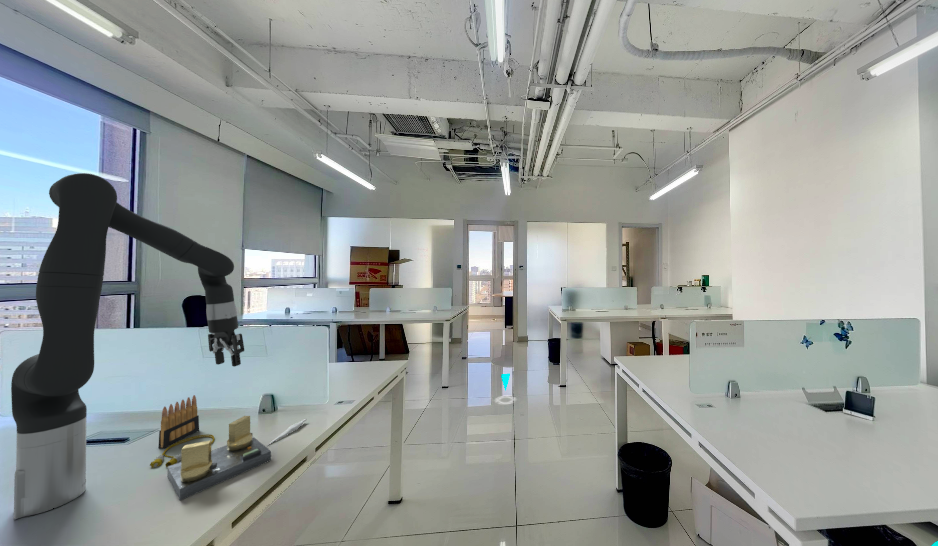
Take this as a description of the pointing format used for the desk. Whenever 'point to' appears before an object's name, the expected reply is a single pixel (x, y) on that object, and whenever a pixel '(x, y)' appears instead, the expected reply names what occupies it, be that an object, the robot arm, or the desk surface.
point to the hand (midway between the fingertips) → (228, 364)
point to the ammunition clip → (178, 422)
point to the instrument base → (220, 468)
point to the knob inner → (196, 461)
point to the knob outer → (239, 434)
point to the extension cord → (177, 458)
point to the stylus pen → (289, 430)
